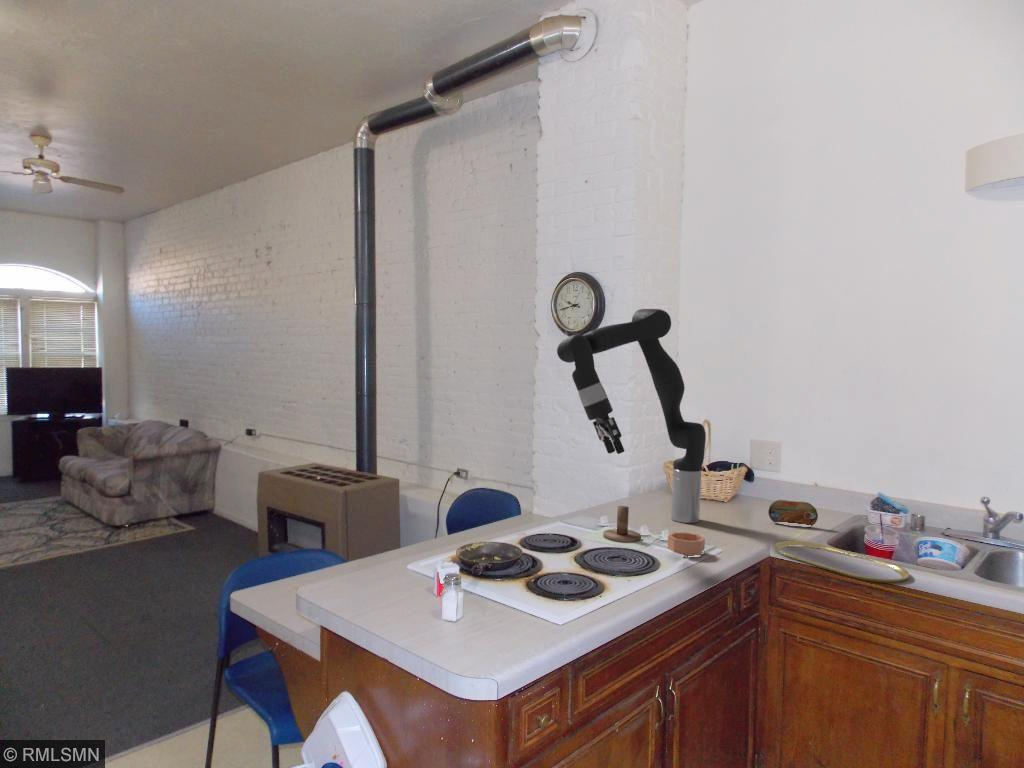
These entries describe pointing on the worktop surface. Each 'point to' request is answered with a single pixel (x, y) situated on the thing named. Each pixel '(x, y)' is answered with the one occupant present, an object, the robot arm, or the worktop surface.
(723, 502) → the worktop surface
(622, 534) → the walnut lid
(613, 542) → the sage mat
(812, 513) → the tin
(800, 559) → the serving platter
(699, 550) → the terracotta bowl
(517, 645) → the worktop surface
